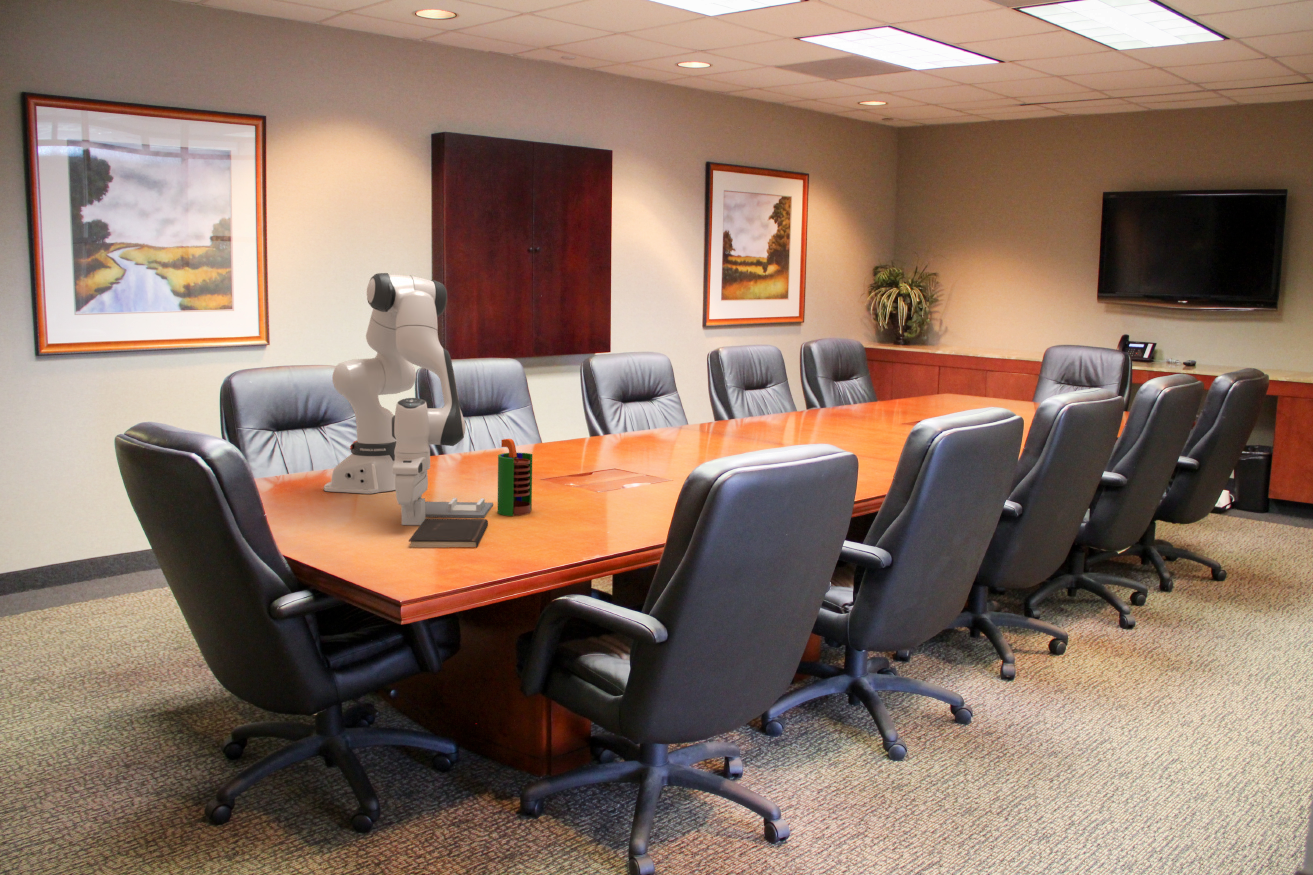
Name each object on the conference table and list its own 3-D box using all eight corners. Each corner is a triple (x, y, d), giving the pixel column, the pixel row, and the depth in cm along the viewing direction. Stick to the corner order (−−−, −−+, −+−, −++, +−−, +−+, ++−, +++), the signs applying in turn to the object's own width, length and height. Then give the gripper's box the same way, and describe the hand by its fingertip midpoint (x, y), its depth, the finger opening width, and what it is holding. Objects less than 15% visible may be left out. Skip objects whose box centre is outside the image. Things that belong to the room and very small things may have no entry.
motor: (523, 517, 284) (523, 443, 281) (492, 515, 286) (491, 441, 283) (535, 509, 294) (535, 437, 291) (504, 507, 295) (504, 436, 293)
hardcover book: (408, 549, 250) (408, 540, 250) (425, 527, 273) (425, 518, 273) (477, 550, 251) (476, 540, 251) (488, 527, 274) (488, 518, 273)
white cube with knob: (401, 524, 272) (401, 494, 271) (406, 520, 277) (405, 490, 276) (421, 525, 272) (420, 494, 271) (425, 520, 277) (424, 490, 276)
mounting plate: (408, 516, 282) (408, 506, 281) (421, 504, 297) (421, 494, 297) (483, 518, 282) (483, 507, 281) (492, 505, 298) (492, 495, 297)
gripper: (409, 455, 283) (410, 505, 285) (390, 468, 262) (391, 523, 265) (433, 455, 283) (434, 506, 285) (416, 469, 262) (417, 523, 265)
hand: (413, 514), depth 274 cm, fingers closed on white cube with knob, 5 cm apart
